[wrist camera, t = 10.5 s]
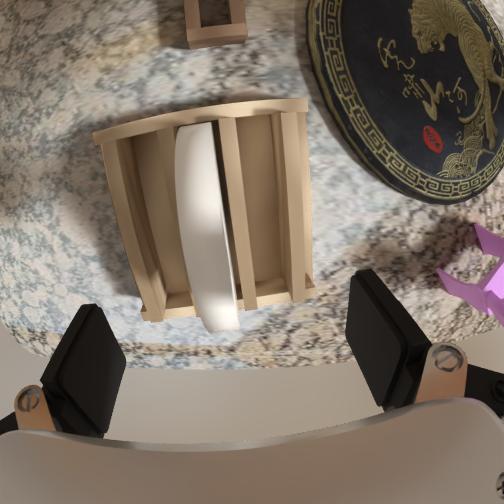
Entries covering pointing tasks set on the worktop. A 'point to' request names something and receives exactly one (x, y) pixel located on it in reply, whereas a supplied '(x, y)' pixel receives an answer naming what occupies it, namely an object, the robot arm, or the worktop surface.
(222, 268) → the side plate
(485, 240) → the toy chair
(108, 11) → the worktop surface
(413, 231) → the worktop surface
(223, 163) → the dish rack
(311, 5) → the decorative plate
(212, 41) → the plate stand
